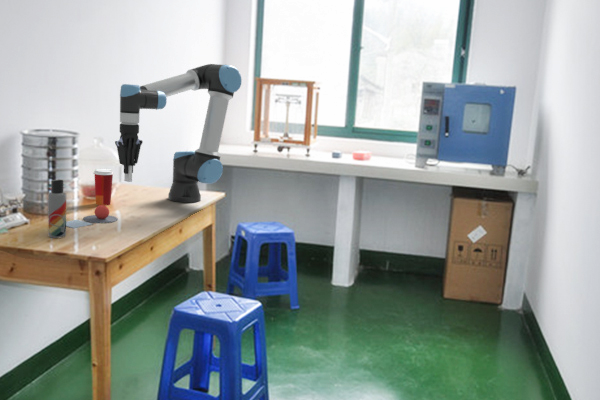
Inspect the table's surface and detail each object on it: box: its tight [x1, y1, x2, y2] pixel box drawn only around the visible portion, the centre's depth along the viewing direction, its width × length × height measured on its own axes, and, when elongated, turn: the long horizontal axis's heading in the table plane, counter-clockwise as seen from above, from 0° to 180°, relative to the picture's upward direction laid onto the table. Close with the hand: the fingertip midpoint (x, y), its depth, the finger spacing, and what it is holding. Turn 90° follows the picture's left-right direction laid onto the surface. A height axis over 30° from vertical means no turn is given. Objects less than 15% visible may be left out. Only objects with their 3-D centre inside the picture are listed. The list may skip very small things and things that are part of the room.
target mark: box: [82, 214, 119, 224], centre depth 236 cm, size 13×13×1 cm
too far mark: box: [66, 219, 94, 229], centre depth 226 cm, size 9×9×1 cm
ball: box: [94, 205, 110, 219], centre depth 237 cm, size 6×6×6 cm
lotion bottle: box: [47, 179, 67, 239], centre depth 207 cm, size 6×6×20 cm
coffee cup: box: [93, 168, 114, 207], centre depth 261 cm, size 8×8×15 cm
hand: (128, 181), depth 246 cm, fingers closed
